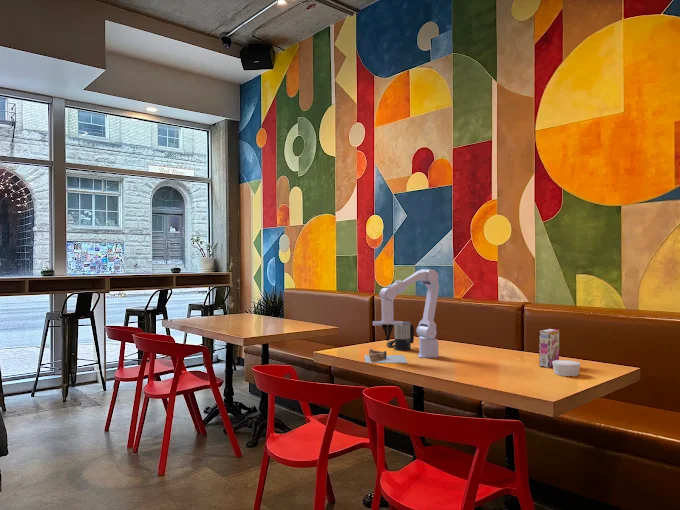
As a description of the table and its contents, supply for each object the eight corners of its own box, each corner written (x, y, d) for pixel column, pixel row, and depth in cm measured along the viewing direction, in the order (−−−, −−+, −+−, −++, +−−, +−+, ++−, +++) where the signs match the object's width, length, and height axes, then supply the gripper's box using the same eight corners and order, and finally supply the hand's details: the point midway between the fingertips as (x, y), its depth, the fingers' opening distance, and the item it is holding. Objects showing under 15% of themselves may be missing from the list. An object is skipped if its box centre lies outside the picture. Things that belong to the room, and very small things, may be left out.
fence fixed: (370, 355, 263) (370, 348, 263) (387, 358, 256) (387, 351, 256) (368, 356, 262) (368, 348, 262) (384, 359, 254) (384, 351, 254)
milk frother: (407, 351, 276) (407, 323, 276) (380, 349, 283) (380, 322, 283) (416, 347, 289) (415, 320, 289) (389, 345, 296) (389, 319, 296)
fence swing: (382, 358, 255) (382, 351, 255) (384, 358, 254) (384, 351, 254) (369, 360, 249) (369, 353, 249) (371, 361, 248) (371, 354, 248)
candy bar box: (549, 368, 233) (549, 331, 233) (538, 366, 236) (538, 330, 236) (560, 364, 240) (559, 329, 241) (549, 363, 244) (549, 328, 244)
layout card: (403, 355, 264) (403, 355, 264) (407, 363, 245) (407, 362, 245) (364, 355, 264) (364, 355, 264) (365, 363, 245) (365, 362, 245)
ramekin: (564, 378, 213) (564, 365, 213) (546, 372, 224) (546, 360, 224) (586, 376, 216) (586, 364, 217) (568, 371, 227) (567, 359, 227)
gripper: (402, 311, 255) (402, 339, 255) (372, 311, 256) (372, 339, 256) (402, 313, 248) (403, 341, 248) (372, 313, 249) (372, 341, 249)
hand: (387, 340), depth 252 cm, fingers closed
